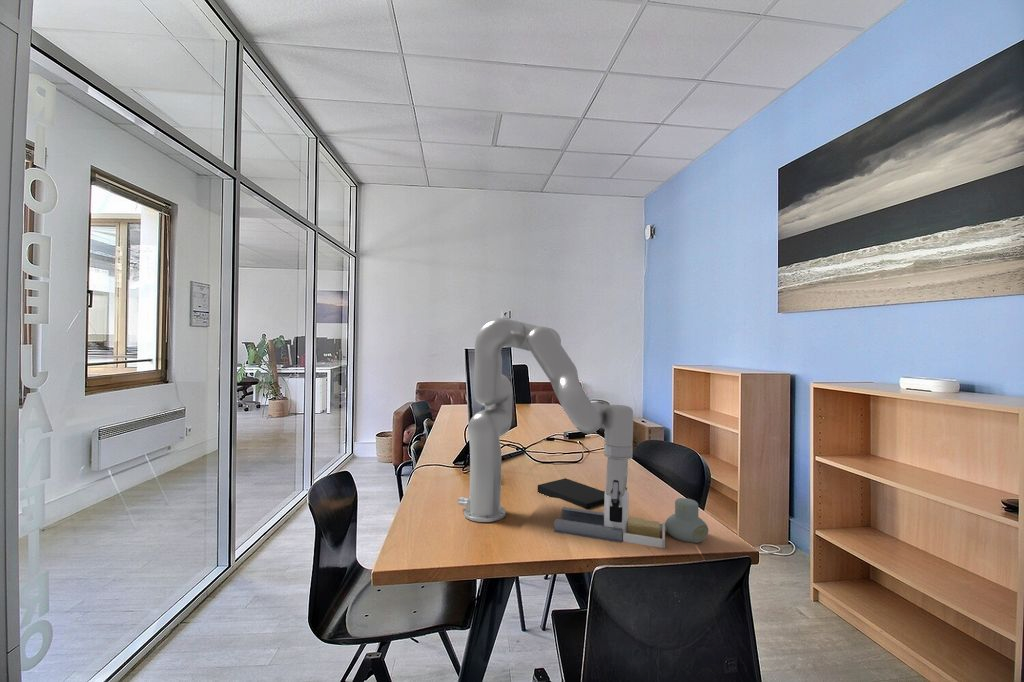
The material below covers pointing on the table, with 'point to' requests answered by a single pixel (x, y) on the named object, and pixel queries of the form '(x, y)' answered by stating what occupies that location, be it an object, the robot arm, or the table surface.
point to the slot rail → (586, 525)
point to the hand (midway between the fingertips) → (617, 515)
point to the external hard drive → (573, 493)
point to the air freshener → (686, 522)
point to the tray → (646, 538)
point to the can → (625, 512)
